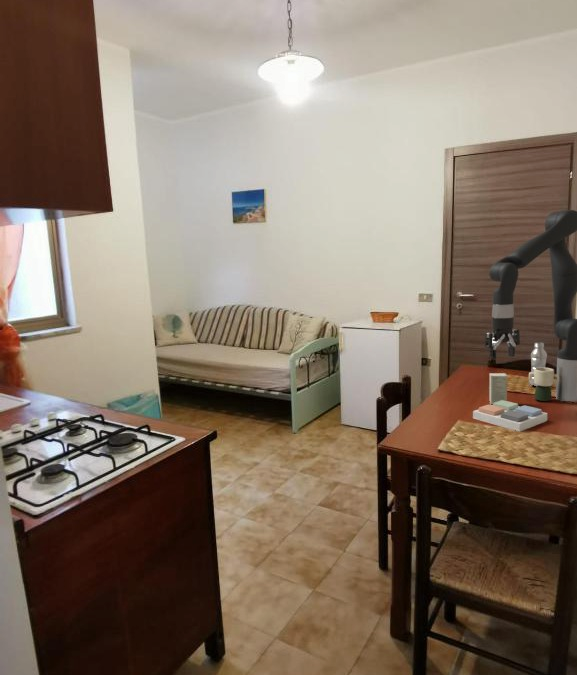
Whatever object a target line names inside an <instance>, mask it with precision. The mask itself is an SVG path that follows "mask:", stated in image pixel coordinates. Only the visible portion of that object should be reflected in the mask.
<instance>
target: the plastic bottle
mask: <svg viewBox="0 0 577 675" xmlns="http://www.w3.org/2000/svg"><path fill="white" fill-rule="evenodd" d="M533 345H534V348H533V350H532V351H531V353H530V359H531V360H530V362H531V363H530V364H531V366H530V367H531V369H530V370H531V371H530V372H532V373H534V369H535V368H540V367H544V368H546V364H547V357H548V353H547V351H546V350H545V349H544V348H545V343H544V342H541V341H539V342H534V344H533ZM531 378H534V375H532V376H531ZM528 380H529V379H528ZM530 384H531V385H534V386H538V385H536V384H535V383H534V381H533V380H529V385H530ZM531 385H530V386H531Z"/></svg>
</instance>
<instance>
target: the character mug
mask: <svg viewBox="0 0 577 675" xmlns="http://www.w3.org/2000/svg"><path fill="white" fill-rule="evenodd" d="M532 375H534V378H531V376H532ZM554 378H555V379H554ZM528 380H533V381H534V383H535V384H536V385H538V386H537V387H535V389H534V390H535V392H534V397H533V398H534V399H535V400H537V401H541V402H548V401H549V402H550V401H551V400H553V398H552V397H553V396H552V389H551V386H553V385H554V383H555V384H556V383H558V382H559V375H557V373H555V369H554V368H550V367H545V368H544V367H540V368H535V369H534V373H532V372H531V371H530V372H529V373H528Z"/></svg>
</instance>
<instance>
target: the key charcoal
mask: <svg viewBox="0 0 577 675" xmlns="http://www.w3.org/2000/svg"><path fill="white" fill-rule="evenodd" d="M501 418H504V419H508V420H511V421H515V422H521V421H524V420H526V419H528V414H525V413H521V412H517V411H513V410H510V411H507V412H504V413H501Z"/></svg>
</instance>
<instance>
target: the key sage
mask: <svg viewBox="0 0 577 675" xmlns="http://www.w3.org/2000/svg"><path fill="white" fill-rule="evenodd" d="M493 406H497V407H501V408H505V411H510V410H514V409H515V408H518V406H519V403H516V402H512V401H508V400H507V401H504V400H501V401H498V402H495V403H493Z"/></svg>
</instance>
